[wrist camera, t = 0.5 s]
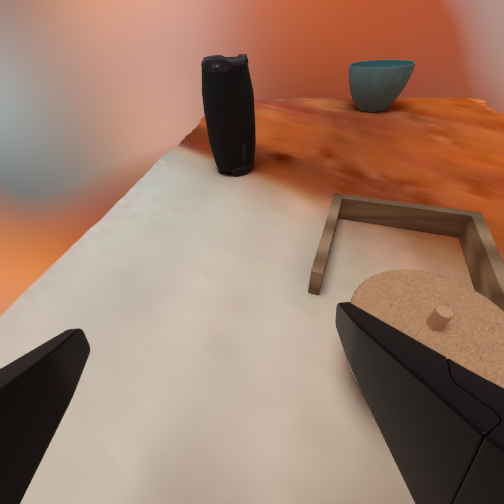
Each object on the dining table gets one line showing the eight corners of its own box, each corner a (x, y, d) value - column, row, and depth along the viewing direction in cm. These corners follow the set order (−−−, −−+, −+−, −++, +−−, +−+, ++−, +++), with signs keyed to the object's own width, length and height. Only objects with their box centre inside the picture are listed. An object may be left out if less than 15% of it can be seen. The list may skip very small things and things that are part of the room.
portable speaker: (212, 164, 59) (195, 56, 46) (253, 159, 59) (247, 52, 47) (215, 180, 52) (196, 61, 39) (260, 174, 53) (256, 55, 40)
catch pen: (505, 342, 24) (530, 320, 22) (308, 292, 30) (311, 271, 27) (467, 233, 36) (480, 212, 33) (331, 212, 41) (334, 193, 39)
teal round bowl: (341, 115, 81) (349, 68, 73) (343, 102, 94) (349, 60, 86) (405, 116, 76) (421, 66, 68) (397, 102, 89) (410, 58, 81)
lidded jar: (369, 303, 28) (397, 235, 22) (489, 374, 22) (573, 309, 16) (309, 375, 23) (322, 312, 17) (443, 494, 17) (544, 466, 11)
